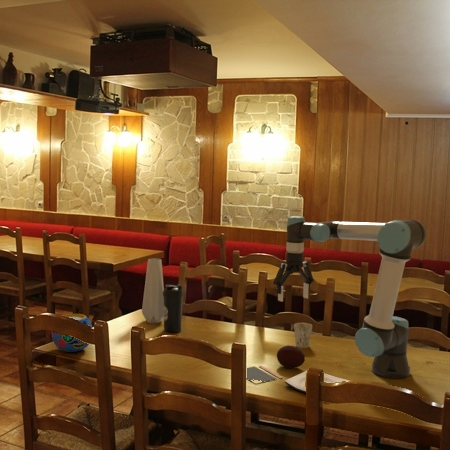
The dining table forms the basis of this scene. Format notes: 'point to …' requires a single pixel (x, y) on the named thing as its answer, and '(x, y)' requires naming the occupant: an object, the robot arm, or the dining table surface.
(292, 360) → the potato
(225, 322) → the dining table surface
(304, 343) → the mug
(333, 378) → the plate
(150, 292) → the vase
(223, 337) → the dining table surface
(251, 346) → the dining table surface
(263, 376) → the mat
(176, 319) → the water bottle
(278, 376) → the pink thin rod
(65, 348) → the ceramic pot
